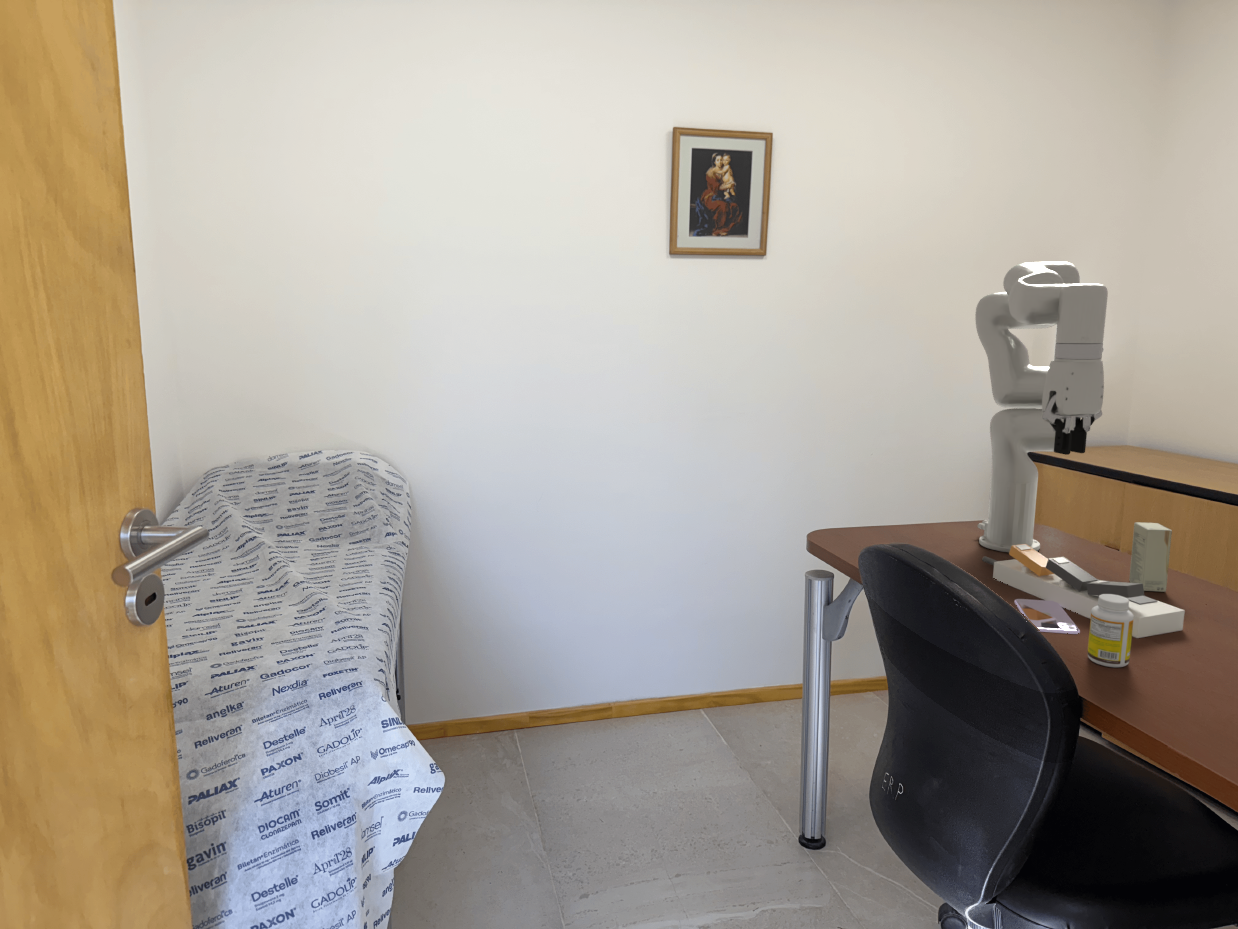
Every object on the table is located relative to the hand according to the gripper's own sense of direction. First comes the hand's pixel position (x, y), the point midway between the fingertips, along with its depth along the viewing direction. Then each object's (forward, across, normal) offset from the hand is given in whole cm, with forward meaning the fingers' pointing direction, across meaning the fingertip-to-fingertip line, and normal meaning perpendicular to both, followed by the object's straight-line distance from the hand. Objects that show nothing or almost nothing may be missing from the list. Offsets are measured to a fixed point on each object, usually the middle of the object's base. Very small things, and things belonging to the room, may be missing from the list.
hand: (1069, 451), depth 148 cm
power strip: (+27, +1, +2) cm, 27 cm away
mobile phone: (+28, +12, +9) cm, 32 cm away
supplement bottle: (+27, +18, +27) cm, 42 cm away
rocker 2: (+21, +4, +6) cm, 22 cm away
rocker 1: (+21, +4, -3) cm, 22 cm away
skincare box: (+27, -18, +4) cm, 33 cm away
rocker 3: (+21, +4, +15) cm, 26 cm away
